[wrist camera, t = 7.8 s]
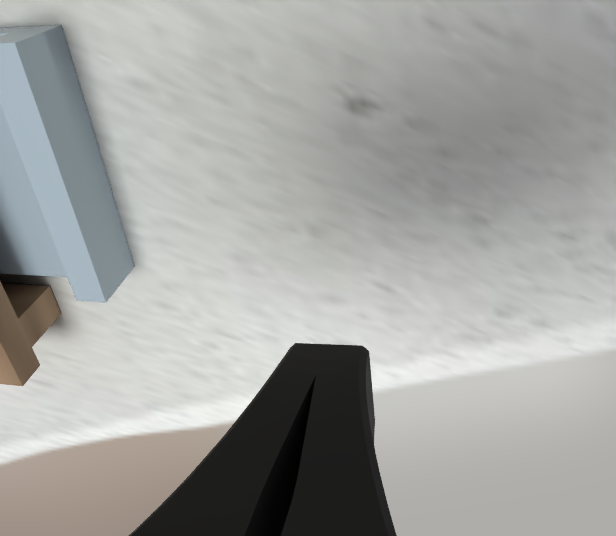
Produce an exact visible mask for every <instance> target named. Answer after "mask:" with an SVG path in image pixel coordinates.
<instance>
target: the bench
mask: <svg viewBox="0 0 616 536" xmlns="http://www.w3.org/2000/svg"><path fill="white" fill-rule="evenodd" d="M60 314H61V312H60V309H59V307H58V305H57V302H56V300H55V297H54V295H53V293H52V290H51V288H50V286H40V285H23V284H6V283H1V282H0V384H7V385H17V386H23V385H24V384H25V383H26V382H27V380H28V379H29V378H30V377H31V376H32V374H33V373H34V372H35V371H36V370H37V368H38V367H39V366H40V364H39V362H38V360H37V357H36V355H35V353H34V351H33V349H32V346H33V345H34V344H35V343H36V342H37V341H38V340H39V338H40V337H41V336H42V335H43V334H44V333H45V331H46V330H47V329H48V328H49V327H50V326H51V325H52V323H53V322H54V321H55V320H56V319H57V318H58V317H59V315H60Z"/></svg>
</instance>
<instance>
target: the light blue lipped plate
mask: <svg viewBox="0 0 616 536" xmlns="http://www.w3.org/2000/svg"><path fill="white" fill-rule="evenodd" d="M133 268H134V262H133V259H132V256H131V253H130V249H129V246H128V243H127V239H126V236H125V233H124V229H123V226H122V223H121V219H120V216H119V213H118V210H117V206H116V203H115V200H114V196H113V193H112V190H111V186H110V183H109V180H108V176H107V173H106V170H105V166H104V163H103V160H102V157H101V153H100V150H99V147H98V143H97V140H96V137H95V133H94V130H93V127H92V123H91V120H90V117H89V114H88V110H87V107H86V104H85V100H84V97H83V94H82V90H81V87H80V84H79V80H78V77H77V74H76V71H75V67H74V64H73V61H72V57H71V54H70V51H69V47H68V44H67V41H66V37H65V34H64V31H63V28H62V25H49V26H27V27H6V28H0V273H1V274H19V275H37V276H55V277H68V280H69V283H70V285H71V288H72V290H73V293H74V295H75V298H76V301H90V302H107V301H108V299H109V298H110V297H111V296H112V294H113V293H114V292H115V290H116V289H117V288H118V287H119V285H120V284H121V283H122V282H123V280H124V279H125V278H126V277H127V275H128V274H129V273H130V272H131V270H132V269H133Z"/></svg>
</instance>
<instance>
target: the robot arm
mask: <svg viewBox="0 0 616 536" xmlns="http://www.w3.org/2000/svg"><path fill="white" fill-rule="evenodd" d="M374 426H375V418H374V405H373V393H372V381H371V370H370V358H369V351H368V350H367V349H366V348H364V347H363V346H356V345H330V344H303V343H295V344H294V345H293V346H292V347H291V348H290V349H289V350H288V352H287V353H286V355H285V356H284V358H283V359H282V360H281V362H280V363H279V365H278V366H277V368H276V369H275V370H274V372H273V373H272V375H271V376H270V377H269V379H268V380H267V381H266V383H265V384H264V386H263V387H262V388H261V390H260V391H259V392H258V394H257V395H256V396H255V398H254V399H253V400H252V402H251V403H250V404H249V405H248V407H247V408H246V409H245V410H244V412H243V413H242V414H241V415H240V417H239V418H238V419H237V420H236V422H235V423H234V424H233V425H232V427H231V428H230V429H229V430H228V432H227V433H226V434H225V435H224V437H223V438H222V439H221V440H220V441H219V442H218V444H217V445H216V446H215V447H214V448H213V449H212V450H211V451H210V453H209V454H208V455H207V456H206V457H205V458H204V459H203V461H202V462H201V463H200V464H199V465H198V466H197V467H196V469H195V470H194V471H193V472H192V473H191V474H190V475H189V476H188V477H187V479H186V480H185V481H184V482H183V483H182V484H181V485H180V486H179V487H178V488H177V489H176V490H175V491H174V492H173V493H172V494H171V495H170V497H168V498H167V499H166V500H165V501H164V502H163V503H162V505H161V506H160V507H158V509H157V510H155V511H154V512H153V513H152V514H151V515H150V516H149V517H148V518H147V519H146V520H145V521H144V522H143V523H142V524H141V525H140V526H139V527H138V528H137V529H136V530H135V531H134V532H132V533H131V534H130V535H129V536H396V533H395V529H394V526H393V522H392V519H391V515H390V511H389V508H388V504H387V500H386V496H385V493H384V488H383V484H382V480H381V477H380V472H379V468H378V463H377V459H376V454H375V448H374Z"/></svg>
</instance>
